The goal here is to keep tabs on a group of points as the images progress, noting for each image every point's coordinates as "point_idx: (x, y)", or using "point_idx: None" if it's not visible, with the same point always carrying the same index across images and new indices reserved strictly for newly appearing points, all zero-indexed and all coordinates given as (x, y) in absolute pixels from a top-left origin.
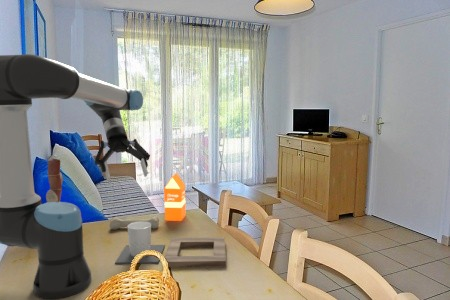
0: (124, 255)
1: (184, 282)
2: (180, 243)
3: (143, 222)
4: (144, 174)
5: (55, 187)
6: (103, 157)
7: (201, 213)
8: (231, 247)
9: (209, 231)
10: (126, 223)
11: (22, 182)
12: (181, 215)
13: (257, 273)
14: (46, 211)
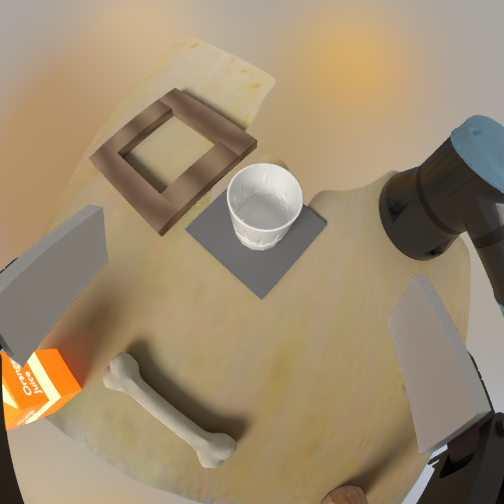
0: (295, 242)
1: (259, 97)
2: (165, 189)
3: (236, 215)
4: (100, 255)
5: None
6: (501, 470)
7: None
8: (107, 140)
9: None
10: (191, 423)
11: None
12: (47, 350)
13: (166, 68)
14: None
